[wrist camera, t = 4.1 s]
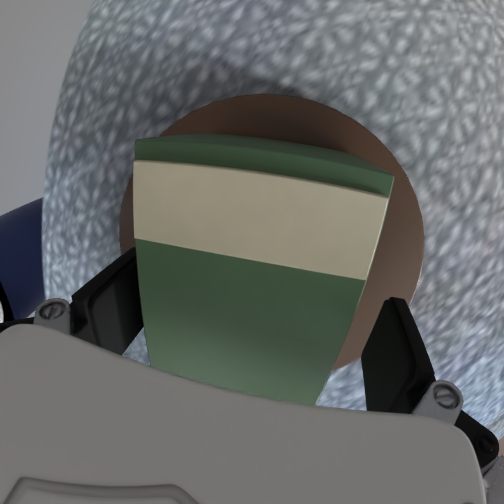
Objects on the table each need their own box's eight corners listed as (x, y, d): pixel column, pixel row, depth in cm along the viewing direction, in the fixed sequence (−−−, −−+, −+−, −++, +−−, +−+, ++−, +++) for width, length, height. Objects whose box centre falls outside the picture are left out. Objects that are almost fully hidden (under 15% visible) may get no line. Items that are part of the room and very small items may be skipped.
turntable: (139, 338, 19) (133, 346, 18) (131, 93, 12) (120, 92, 11) (362, 383, 17) (364, 394, 16) (449, 139, 10) (458, 140, 10)
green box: (200, 346, 17) (161, 428, 11) (210, 132, 11) (130, 140, 6) (298, 367, 16) (289, 458, 10) (352, 153, 11) (398, 176, 5)
